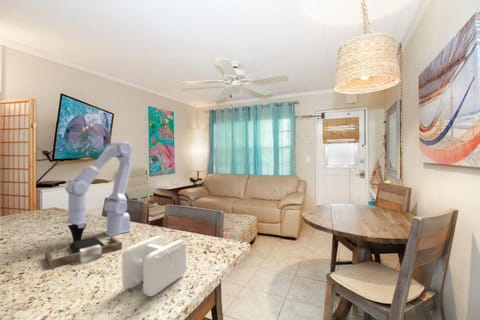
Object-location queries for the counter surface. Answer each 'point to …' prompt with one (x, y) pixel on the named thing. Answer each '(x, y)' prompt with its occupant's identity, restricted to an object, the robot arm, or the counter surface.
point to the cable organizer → (153, 264)
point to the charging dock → (84, 254)
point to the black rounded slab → (84, 244)
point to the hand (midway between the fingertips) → (77, 241)
